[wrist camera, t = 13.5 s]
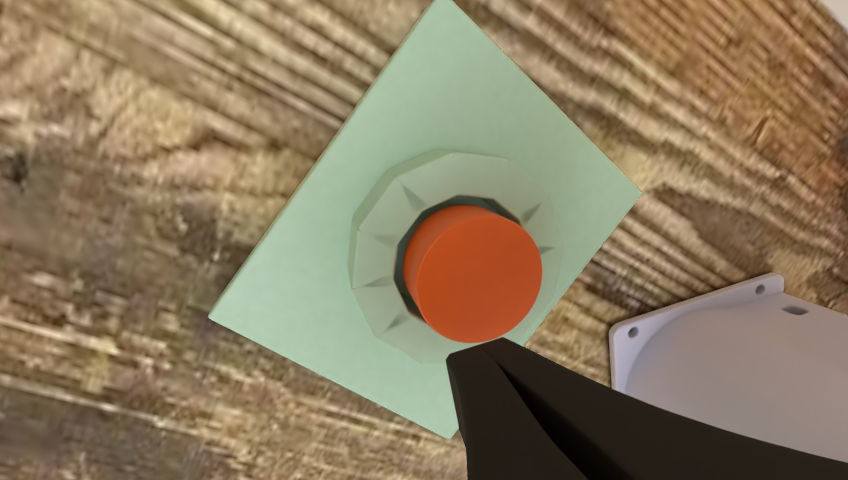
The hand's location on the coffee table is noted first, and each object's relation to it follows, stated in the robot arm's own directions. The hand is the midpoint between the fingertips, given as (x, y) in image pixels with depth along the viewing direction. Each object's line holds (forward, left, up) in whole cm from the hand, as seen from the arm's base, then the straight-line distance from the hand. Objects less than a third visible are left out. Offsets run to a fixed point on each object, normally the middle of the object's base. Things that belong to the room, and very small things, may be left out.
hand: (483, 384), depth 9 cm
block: (-1, -1, -7) cm, 7 cm away
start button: (-1, -1, -4) cm, 4 cm away
